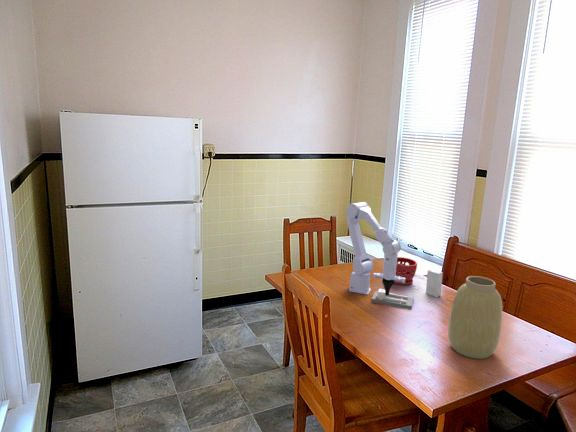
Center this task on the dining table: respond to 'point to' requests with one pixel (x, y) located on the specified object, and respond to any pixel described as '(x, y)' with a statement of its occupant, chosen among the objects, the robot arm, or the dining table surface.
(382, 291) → the fader tab
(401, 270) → the plant pot
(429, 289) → the skincare box
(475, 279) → the vase
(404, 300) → the board
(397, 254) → the robot arm
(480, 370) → the dining table surface
